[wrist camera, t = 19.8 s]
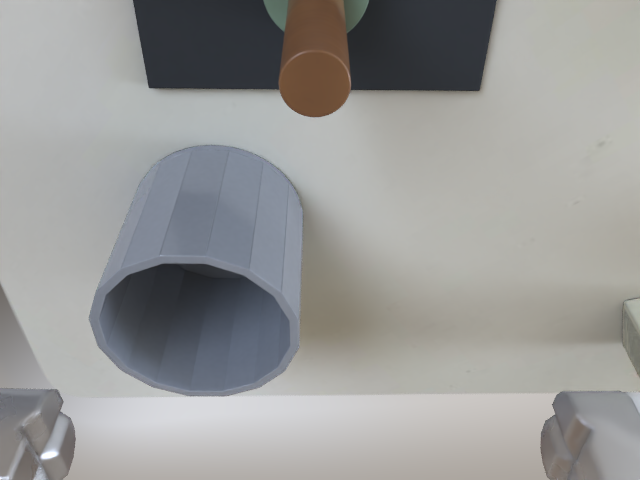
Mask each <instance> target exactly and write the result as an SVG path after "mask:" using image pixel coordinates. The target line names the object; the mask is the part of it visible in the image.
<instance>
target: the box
mask: <svg viewBox="0 0 640 480" xmlns="http://www.w3.org/2000/svg"><path fill="white" fill-rule="evenodd" d="M623 346H624V348H625V350H626V352H627V354H628V356H629V358H630V360H631V362H632V364H633V365H634V367H635V369H636V371H637V374H638V375H639V377H640V298H637V299H633V300H627V301H625V302H624V304H623Z"/></svg>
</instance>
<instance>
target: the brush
mask: <svg viewBox="0 0 640 480" xmlns="http://www.w3.org/2000/svg"><path fill="white" fill-rule="evenodd" d="M263 1H264V4H265V7H266V10H267V12H268V14H269V15H270V17H271V19H272V20H273V21H274V23H275V24H276V25H277V26H278V27H279V28H280V29H281V30H282V31H284V40H283V49H282V57H281V65H280V74H279V90H280V94H281V96H282V98H283V100H284V101H285V103H286V104H287V105H288V106H289V107H290V108H291V109H292V110H294V111H295V112H297V113H299V114H301V115H304V116H308V117H322V116H326V115H329V114H331V113H333V112H335V111H336V110H338V109H339V108H340V107H341V106H342V105H343V104H344V103H345V101H346V100H347V98H348V96H349V93H350V90H351V74H350V64H349V53H348V43H347V33H348V32H349V31H350V30H351V29H353V28H354V27H355V25H356V24H357V23H358V22H359V21H360V19H361V18H362V16H363V14H364V13H365V11H366V8H367V5H368V2H369V0H263Z"/></svg>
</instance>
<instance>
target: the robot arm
mask: <svg viewBox="0 0 640 480" xmlns="http://www.w3.org/2000/svg"><path fill="white" fill-rule="evenodd" d="M62 404H63V400H62V398H61V396H60V394H59V392H58V390H57V389H13V388H0V480H62V479H63V478H64V477H66V476H67V475H68V472H69V469H70V466H71V463H72V460H73V456H74V448H75V430H74V426H73V423H72V421H71V418H70V417H68V416H66V415H65V414H63V413H62V412H60V409H61V407H62ZM552 405H553V408H554V411H555V415H554V416H552V417H551V418H549V419H548V420H546V421H545V424H544V426H543V429H542V432H541V454H542V460H543V465H544V468H545V471H546V475H547V477H548V478H549V479H550V480H640V392H621V391H563V392H560V393H559V394H557V395H556V398H555V400H554V402H553V404H552Z"/></svg>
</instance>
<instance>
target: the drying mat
mask: <svg viewBox="0 0 640 480" xmlns="http://www.w3.org/2000/svg"><path fill="white" fill-rule="evenodd" d="M496 1H497V0H369V2H368V5H367V8H366V11H365V13H364V14H363V16H362V18H361V19H360V21H359V22H358V23H357V24H356V25H355V27H354V28H353V29H351V30H350V31H349V32H348V33H347V43H348V53H349V64H350V74H351V90H443V91H479V90H480V85H481V80H482V75H483V69H484V64H485V59H486V54H487V48H488V43H489V38H490V32H491V27H492V22H493V17H494V11H495V6H496ZM133 3H134V8H135V14H136V19H137V25H138V30H139V36H140V41H141V47H142V52H143V58H144V63H145V69H146V74H147V80H148V85H149V88H198V89H279V74H280V65H281V57H282V49H283V40H284V31H282V30H281V29H280V28H279V27H278V26H277V25H276V24H275V23H274V21H273V20H272V19H271V17H270V15H269V14H268V12H267V10H266V7H265V4H264V1H263V0H133Z"/></svg>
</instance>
